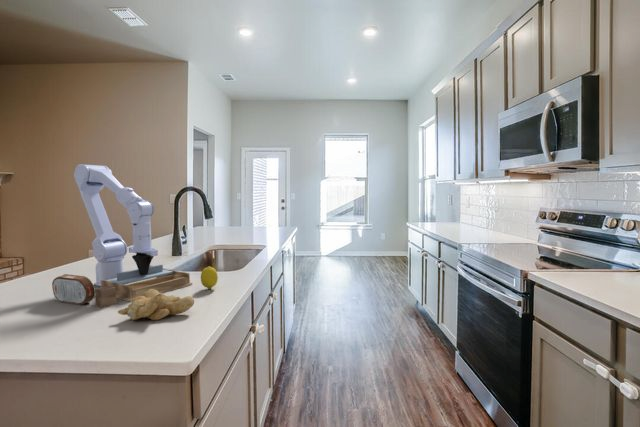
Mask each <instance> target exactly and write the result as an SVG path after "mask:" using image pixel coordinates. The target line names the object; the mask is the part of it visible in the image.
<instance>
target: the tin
mask: <svg viewBox="0 0 640 427" xmlns="http://www.w3.org/2000/svg"><path fill="white" fill-rule="evenodd" d="M51 287H52V292H53V293H52V294H53V296H54V298H56V300H57V301H59V302H61V303H67V304H71V305H73V304H74V305H79V306H80V305H85V304H87V303H90V302H92V301H93V299H94V298H95V289H96V288H95V286H94V283H93V282H92V280H90V278H88V276H85V275H76V274H70V273H69V274H67V273H64V274H62V275H59V276H57V277H55V278H54V279H53V280H52V283H51Z"/></svg>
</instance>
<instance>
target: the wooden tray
mask: <svg viewBox="0 0 640 427" xmlns="http://www.w3.org/2000/svg"><path fill="white" fill-rule="evenodd" d="M163 270H168V271H173V273H172V274H168V275H164V276H159V277H155V278H151V279H146V280H142V281H138V282H133V283H129V284H125V285H123V284H119V283H115V282H111V281H107V280H101V286H100V288H101V287H105V286H112V287H116V299H120V300H124V301H127V302H131V303H132V301H131V300H132V299H133V298H135V297H137V296H143V295H144V293H145V292H147V291H148V290H150V289H154V290H157V291H158V292H159V293H162V294H164V293H167V292H171V291H174V290H178V289H182V288H185V287H188V286H191V285H193V282H191V280H190V278H191V277H190V272H185V271H180V270H175V269H169V268H164V267H163Z"/></svg>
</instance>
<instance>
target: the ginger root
mask: <svg viewBox="0 0 640 427" xmlns="http://www.w3.org/2000/svg"><path fill="white" fill-rule="evenodd" d="M194 304H195V298H193V297H192V296H191V295H188V296H184V297H183V298H181V297H180V296H175V295H167V294H164V293H159V292H158V291H157V290H154V289H150V290H148V291H147V292H145V293H144V295H143V296H137V297H135V298H133V299H132V300H131V303H129V304H128V306H127V307H124V308H121V309H119V310H118V311H117V313H118V314H119V315H123V316H125V315H127V316H128V317H129V318H130V319H131V320H132V321H136V320H139V319H141V318H147V319H150V320H151V321H160V320H161V319H163V318H166V317H167V316H172V315H173V316H174V315H180V314H183V313H184V312H187V311H189V310H190V309H191V308H192V307H193V306H194Z"/></svg>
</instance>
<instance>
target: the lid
mask: <svg viewBox="0 0 640 427" xmlns="http://www.w3.org/2000/svg"><path fill="white" fill-rule="evenodd" d="M163 268H164V266H163V264H156V265H151V266H149V271H148V274H147V275H140V273H139V270H138V268H136V269H132V270H127V271H123V272H121V273H117V278H114V279H109V280H107V281H111V282H115V283H119V284H123V285H127V284H131V283H135V282H140V281H144V280H148V279H153V278H156V277H159V276H164V275H168V274H172V273H173V271H168V270H163Z"/></svg>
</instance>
